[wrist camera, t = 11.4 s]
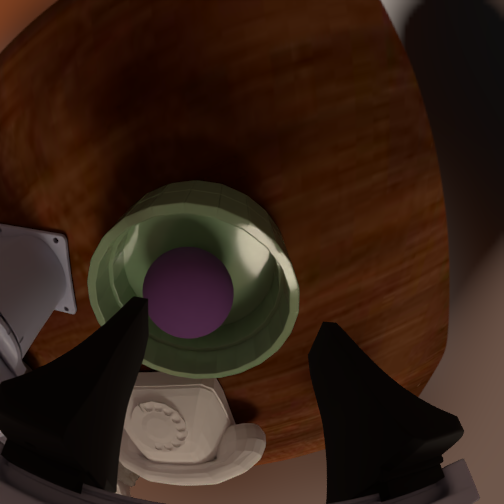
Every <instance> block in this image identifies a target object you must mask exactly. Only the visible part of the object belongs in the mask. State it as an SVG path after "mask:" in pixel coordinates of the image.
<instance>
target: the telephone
mask: <svg viewBox="0 0 504 504" xmlns="http://www.w3.org/2000/svg"><path fill="white" fill-rule="evenodd" d="M265 446H266V438H265V433H264V432H263V430H262V429H261V428H260V426H259V425H256V424H253V423H242V424H237V425H236V424H235V421H234V418H233V416H232V413H231V410H230V408H229V405H228V402H227V400H226V397H225V394H224V391H223V389H222V388H221V386H220V384H219V382H218V380H217V379H216V378H205V379H193V378H186V377H179V376H173V375H170V374H167V373H164V372H139V373H138V376H137V379H136V382H135V385H134V388H133V391H132V394H131V397H130V400H129V403H128V407H127V412H126V417H125V422H124V428H123V434H122V440H121V447H120V455H119V461H120V462H121V464H122V465H123V466H124V467H125V468H127V469H129V470H130V471H132V472H134V473H135V474H137V475H139V476H141V477H142V478H144V479H146V480H148V481H152V482H159V483H165V484H173V485H210V484H218V483H221V482H223V481H226V480H228V479H231V478H233V477H235V476H238V475H240V474H242V473H245V472H246V471H247V470H249V469H250V468H251V467H252V466H253V465H254V464H256V463H257V462H258V461H259V460H260V459H261V457H262V454H263V452H264V449H265Z"/></svg>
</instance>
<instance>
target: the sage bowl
mask: <svg viewBox="0 0 504 504" xmlns="http://www.w3.org/2000/svg"><path fill="white" fill-rule="evenodd" d="M178 247H197V248H201V249H203V250H206V251H208V252H210V253H212V254H213V255H215V256H216V257H217V258H218V259H219V260H220V261H221V262H222V263H223V264H224V265H225V267H226V268H227V270H228V272H229V274H230V276H231V279H232V283H233V288H234V298H233V304H232V307H231V310H230V312H229V314H228V317H227V318H226V319H225V321H224V322H223V323H222V324H221V325H220V326H219V327H218V328H217V329H216V330H214V331H213V332H211V333H210V334H207V335H205V336H202V337H199V338H191V339H186V338H179V337H175V336H172V335H170V334H168V333H166V332H164V331H163V330H161V329H160V328H159V327H158V326H157V325H156V324H155V323H154V322H153V321H152V320H151V318H150V317H149V315H148V325H149V337H148V342H147V346H146V351H145V355H144V359H143V362H142V364H144V365H146V366H148V367H149V368H152V369H155V370H158V371H161V372H164V373H167V374H170V375H173V376H179V377H186V378H193V379H205V378H218V377H219V378H221V377H225V376H229V375H234V374H238V373H240V372H243V371H246V370H248V369H250V368H252V367H254V366H256V365H259V364H260V363H262V362H263V361H265V360H266V359H267V358H269V357H270V356H271V355H272V354H274V353H275V352H276V351H277V350H279V348H280V347H281V346H282V344H283V343H284V342H285V340H286V339H287V338H288V336H289V335H290V334H291V332H292V329H293V326H294V323H295V321H296V318H297V315H298V311H299V285H298V282H297V279H296V276H295V272H294V269H293V266H292V263H291V260H290V258H289V255H288V252H287V249H286V247H285V244H284V241H283V238H282V236H281V233H280V231H279V229H278V227H277V226H276V224H275V223H274V221H273V220H272V219H271V217H270V216H269V214H268V213H267V212H266V211H265V210H264V209H263V208H262V207H261V206H260V205H258V204H257V203H256V202H255V201H253V200H252V199H251V198H250V197H249V196H247V195H245V194H243V193H241V192H239V191H237V190H234V189H232V188H230V187H228V186H225V185H222V184H219V183H212V182H205V181H199V180H196V181H195V180H194V181H185V182H177V183H171V184H167V185H165V186H163V187H160V188H158V189H156V190H153V191H151V192H149V193H148V194H146V195H144V196H143V197H142V198H141V199H140V200H138V201H137V202H136V203H135V204H134V205H133V206H131V207H130V208H129V209H128V210H127V211H126V212H125V213H124V214H123V216H122V217H121V218H120V219H119V220H118V221H117V222H116V223H115V224H114V225H113V226H112V227H111V228H110V229H109V231H108V232H107V233H106V234H105V235H104V236H103V238H102V239H101V241H100V243H99V245H98V247H97V248H96V250H95V252H94V254H93V256H92V258H91V262H90V268H89V274H88V281H87V283H88V291H89V298H90V303H91V306H92V308H93V311H94V313H95V315H96V318H97V320H98V322H99V324H100V325H101V326H102V325H104V324H105V323H106V322H107V321H108V320H109V319H110V318H111V317H112V316H113V315H114V314H115V313H117V312H118V311H119V310H120V309H121V308H122V307H123V306H124V305H125V304H126V303H127V302H128V301H129V300H130V299H131V298H132V297H133V296H136V297H141V298H143V295H142V290H143V283H144V278H145V276H146V273H147V271H148V269H149V267H150V266H151V265H152V263H153V262H154V261H155V260H156V259H157V258H158V257H159V256H161V255H162V254H163V253H165V252H167V251H169V250H172V249H174V248H178Z"/></svg>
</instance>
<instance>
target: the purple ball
mask: <svg viewBox="0 0 504 504" xmlns="http://www.w3.org/2000/svg"><path fill="white" fill-rule="evenodd" d="M142 295H143V298H147V299H148V315H149V317H150V318H151V320H152V321H153V322H154V323H155V324H156V325H157V326H158V327H159V328H160V329H161V330H163V331H164V332H166V333H168V334H170V335H172V336H175V337H179V338H186V339H191V338H199V337H202V336H205V335H207V334H210V333H211V332H213V331H214V330H216V329H217V328H218V327H219V326H220V325H221V324H222V323H223V322H224V321H225V319H226V318H227V317H228V314H229V312H230V310H231V307H232V304H233V298H234V288H233V283H232V279H231V276H230V274H229V272H228V270H227V268H226V267H225V265H224V264H223V263H222V262H221V261H220V260H219V259H218V258H217V257H216V256H215V255H213V254H212V253H210V252H208V251H206V250H203V249H201V248H197V247H178V248H174V249H172V250H169V251H167V252H165V253H163V254H162V255H161V256H159V257H158V258H157V259H156V260H155V261H154V262H153V263H152V265H151V266H150V267H149V269H148V271H147V273H146V276H145V278H144V283H143V290H142Z"/></svg>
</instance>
